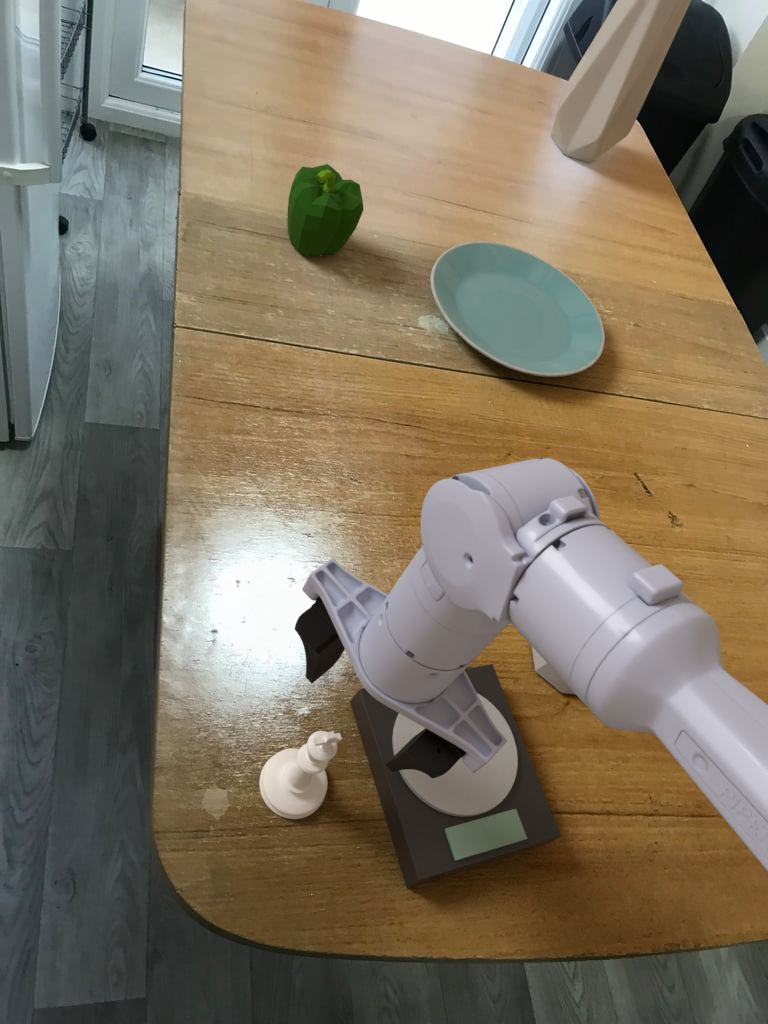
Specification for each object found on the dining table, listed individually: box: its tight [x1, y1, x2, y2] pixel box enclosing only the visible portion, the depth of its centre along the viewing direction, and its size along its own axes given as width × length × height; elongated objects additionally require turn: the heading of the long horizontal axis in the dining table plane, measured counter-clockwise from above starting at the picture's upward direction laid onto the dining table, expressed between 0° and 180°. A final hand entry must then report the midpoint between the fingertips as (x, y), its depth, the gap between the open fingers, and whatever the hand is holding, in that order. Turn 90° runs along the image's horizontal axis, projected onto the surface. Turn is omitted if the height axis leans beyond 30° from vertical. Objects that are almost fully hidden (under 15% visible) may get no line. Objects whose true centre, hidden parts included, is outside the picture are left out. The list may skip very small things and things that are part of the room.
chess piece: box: [258, 730, 342, 820], centre depth 56 cm, size 5×5×10 cm
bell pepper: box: [286, 163, 364, 258], centre depth 92 cm, size 8×8×10 cm
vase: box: [550, 0, 692, 164], centre depth 118 cm, size 12×12×33 cm
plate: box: [429, 240, 606, 378], centre depth 99 cm, size 22×22×3 cm
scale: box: [349, 663, 562, 889], centre depth 64 cm, size 14×12×3 cm
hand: (358, 714), depth 55 cm, fingers open, 7 cm apart
